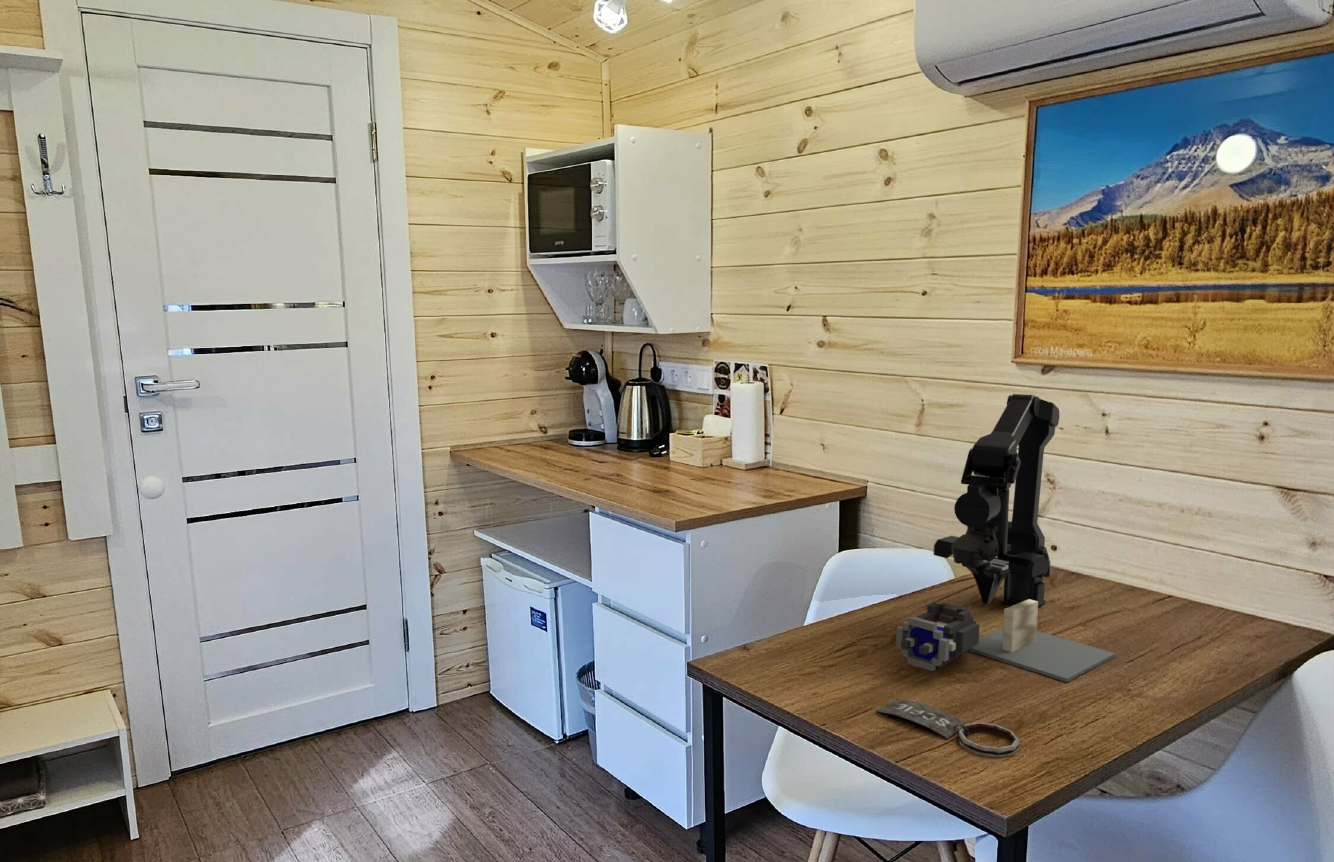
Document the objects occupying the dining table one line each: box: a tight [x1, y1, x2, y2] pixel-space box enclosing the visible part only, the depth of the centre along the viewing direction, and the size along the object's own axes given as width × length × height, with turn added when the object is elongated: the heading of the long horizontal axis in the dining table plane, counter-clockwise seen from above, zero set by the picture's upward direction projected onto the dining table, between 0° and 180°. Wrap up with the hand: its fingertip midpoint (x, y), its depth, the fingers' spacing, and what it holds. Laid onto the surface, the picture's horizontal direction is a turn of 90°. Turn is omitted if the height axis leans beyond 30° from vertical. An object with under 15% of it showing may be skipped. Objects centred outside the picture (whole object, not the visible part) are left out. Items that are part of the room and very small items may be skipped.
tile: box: [1002, 599, 1039, 652], centre depth 149 cm, size 8×2×7 cm, turn 129°
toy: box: [895, 602, 980, 672], centre depth 142 cm, size 9×9×15 cm
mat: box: [967, 628, 1116, 683], centre depth 147 cm, size 18×16×1 cm
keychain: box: [875, 698, 1021, 758], centre depth 120 cm, size 8×19×2 cm, turn 44°
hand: (986, 603), depth 154 cm, fingers closed
